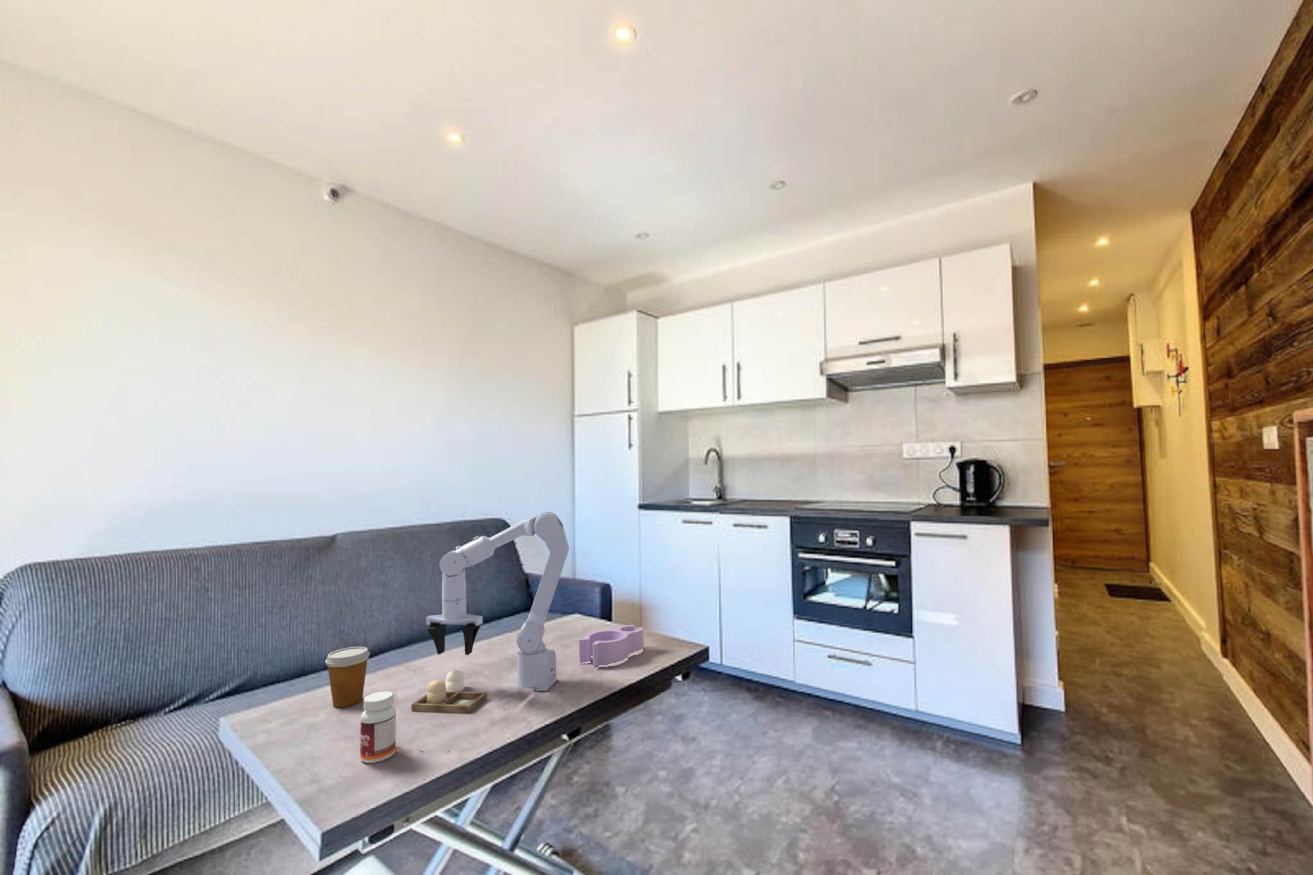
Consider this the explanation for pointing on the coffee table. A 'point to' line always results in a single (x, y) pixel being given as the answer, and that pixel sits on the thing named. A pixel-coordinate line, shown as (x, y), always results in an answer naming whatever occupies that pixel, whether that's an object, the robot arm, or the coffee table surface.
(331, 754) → the coffee table surface
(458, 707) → the egg crate
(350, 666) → the disposable coffee cup
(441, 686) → the brown egg
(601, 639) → the clip
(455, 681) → the cream egg
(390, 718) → the pill bottle
